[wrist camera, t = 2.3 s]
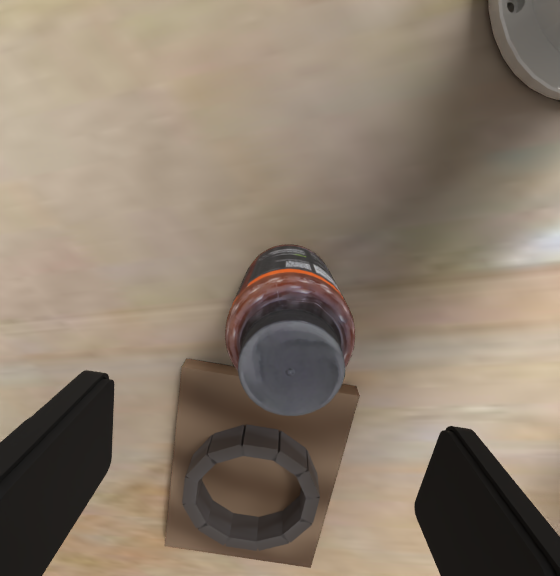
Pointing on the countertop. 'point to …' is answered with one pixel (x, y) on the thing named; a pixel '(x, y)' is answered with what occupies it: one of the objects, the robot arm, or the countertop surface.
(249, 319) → the supplement bottle
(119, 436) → the countertop surface
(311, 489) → the bottle holder
